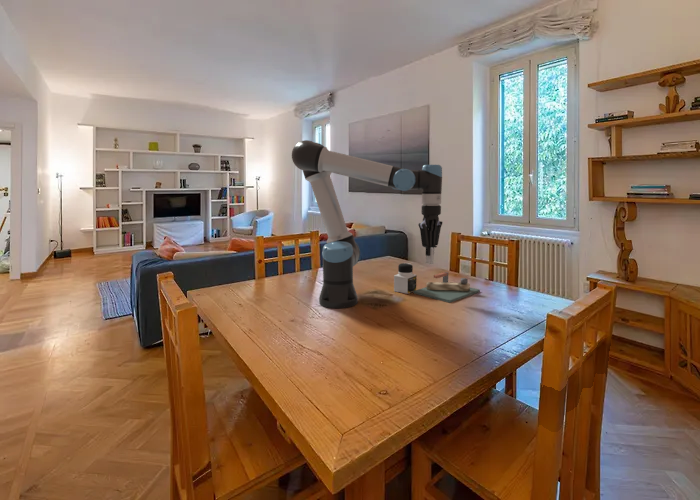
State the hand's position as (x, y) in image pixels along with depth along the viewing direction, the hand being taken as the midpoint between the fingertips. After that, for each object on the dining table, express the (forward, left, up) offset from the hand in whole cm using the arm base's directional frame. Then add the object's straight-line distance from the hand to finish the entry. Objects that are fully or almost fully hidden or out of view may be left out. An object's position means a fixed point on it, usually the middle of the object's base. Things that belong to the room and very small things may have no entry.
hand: (429, 263), depth 154 cm
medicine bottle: (-8, +9, -14) cm, 19 cm away
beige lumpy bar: (+10, +6, -13) cm, 17 cm away
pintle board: (+9, +5, -14) cm, 17 cm away
